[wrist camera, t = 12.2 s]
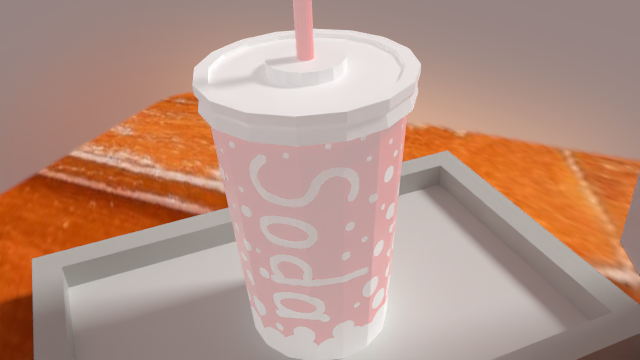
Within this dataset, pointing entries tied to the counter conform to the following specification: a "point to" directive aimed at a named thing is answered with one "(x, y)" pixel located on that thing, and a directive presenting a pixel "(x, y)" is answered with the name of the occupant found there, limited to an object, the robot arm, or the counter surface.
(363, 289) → the beverage cup
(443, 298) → the tray
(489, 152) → the counter surface
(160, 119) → the counter surface
